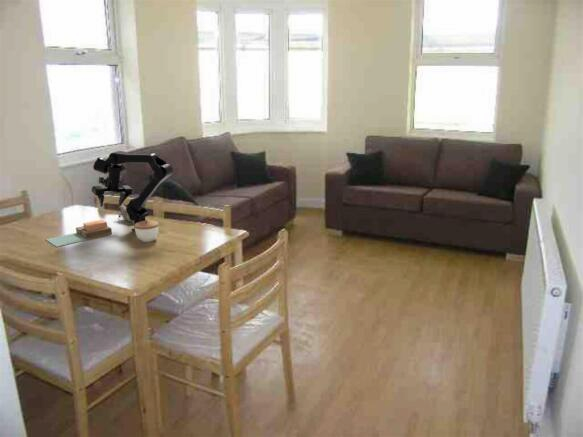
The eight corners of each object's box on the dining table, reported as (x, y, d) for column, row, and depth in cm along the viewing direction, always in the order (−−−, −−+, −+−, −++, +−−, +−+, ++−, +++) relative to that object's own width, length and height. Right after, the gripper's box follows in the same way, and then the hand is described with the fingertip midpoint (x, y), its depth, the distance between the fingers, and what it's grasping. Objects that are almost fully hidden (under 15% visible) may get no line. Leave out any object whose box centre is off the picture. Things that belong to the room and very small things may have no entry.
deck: (112, 234, 260) (111, 228, 259) (87, 239, 252) (86, 233, 252) (100, 228, 269) (100, 222, 269) (76, 233, 262) (75, 227, 261)
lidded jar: (135, 244, 245) (133, 224, 243) (135, 237, 255) (133, 218, 252) (160, 242, 248) (158, 222, 245) (159, 235, 258) (157, 216, 255)
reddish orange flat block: (107, 226, 261) (106, 222, 261) (88, 230, 256) (88, 225, 255) (102, 224, 266) (101, 219, 265) (83, 228, 260) (83, 223, 259)
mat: (87, 240, 252) (87, 239, 252) (56, 247, 243) (56, 246, 243) (75, 233, 262) (75, 232, 262) (45, 239, 253) (45, 239, 253)
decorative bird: (131, 225, 275) (129, 210, 273) (116, 219, 286) (115, 205, 284) (140, 223, 278) (139, 209, 276) (126, 217, 290) (125, 203, 288)
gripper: (125, 170, 273) (121, 199, 279) (88, 170, 261) (85, 200, 266) (135, 178, 266) (130, 208, 271) (98, 179, 253) (94, 209, 259)
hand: (110, 206), depth 267 cm, fingers open, 9 cm apart
